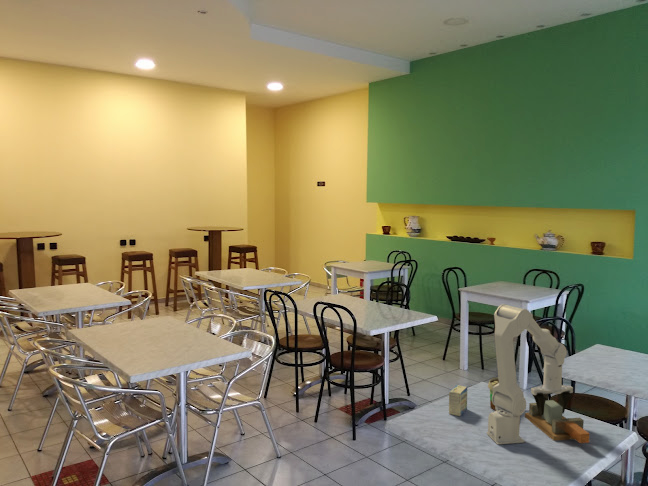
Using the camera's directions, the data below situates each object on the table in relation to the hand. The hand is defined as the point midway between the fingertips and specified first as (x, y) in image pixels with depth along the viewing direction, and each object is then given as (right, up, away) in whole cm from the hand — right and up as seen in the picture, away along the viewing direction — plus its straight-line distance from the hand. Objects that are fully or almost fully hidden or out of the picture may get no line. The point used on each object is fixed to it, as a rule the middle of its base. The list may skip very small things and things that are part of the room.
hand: (551, 413), depth 180 cm
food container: (-14, -3, +15) cm, 21 cm away
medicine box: (-30, -3, +11) cm, 32 cm away
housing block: (0, -2, 0) cm, 2 cm away
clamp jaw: (+2, -3, -13) cm, 14 cm away
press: (0, -4, -2) cm, 5 cm away
